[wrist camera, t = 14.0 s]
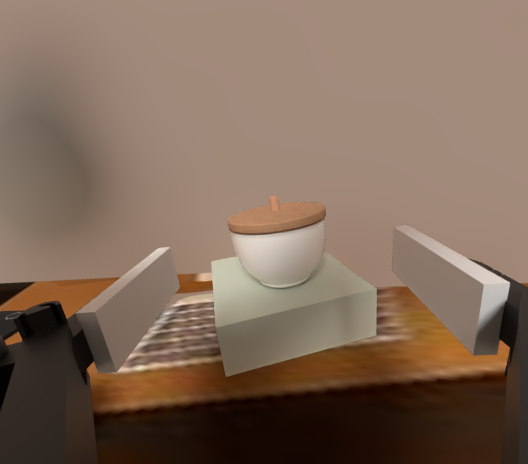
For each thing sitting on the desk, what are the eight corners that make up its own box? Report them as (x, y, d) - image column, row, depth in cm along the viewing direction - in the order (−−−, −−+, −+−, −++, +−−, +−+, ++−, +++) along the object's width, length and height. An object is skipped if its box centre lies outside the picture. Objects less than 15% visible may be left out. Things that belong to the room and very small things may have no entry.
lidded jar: (246, 310, 24) (227, 213, 22) (235, 269, 34) (222, 200, 32) (349, 284, 26) (343, 191, 23) (310, 252, 36) (302, 186, 34)
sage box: (314, 275, 42) (312, 241, 40) (376, 338, 27) (376, 288, 25) (218, 296, 39) (211, 261, 37) (226, 380, 24) (215, 327, 22)
